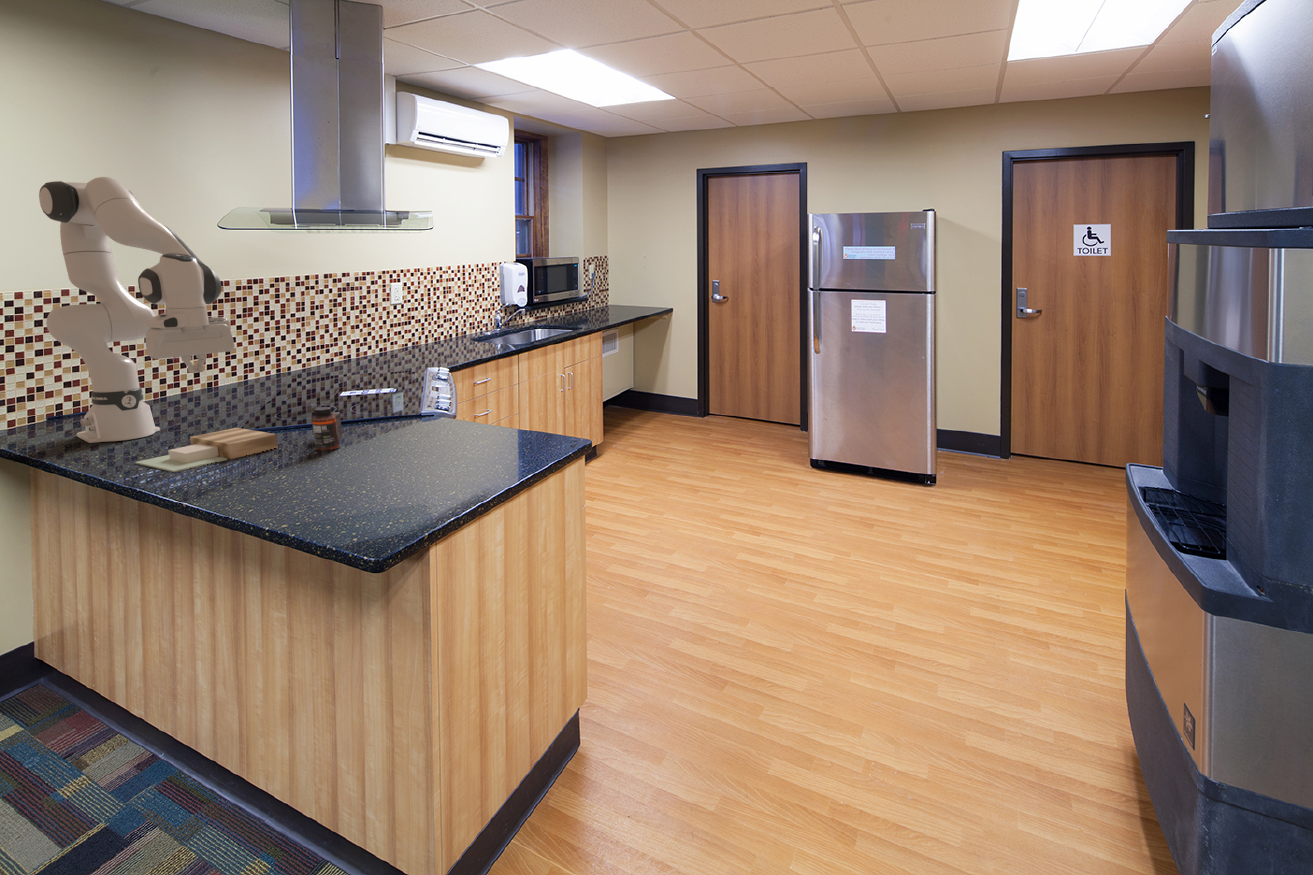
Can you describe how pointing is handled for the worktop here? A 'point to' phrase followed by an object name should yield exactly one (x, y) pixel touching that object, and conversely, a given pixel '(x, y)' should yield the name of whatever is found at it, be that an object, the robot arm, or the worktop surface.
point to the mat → (177, 463)
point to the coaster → (193, 453)
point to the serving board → (237, 442)
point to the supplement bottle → (325, 429)
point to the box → (338, 424)
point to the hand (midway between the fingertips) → (196, 372)
